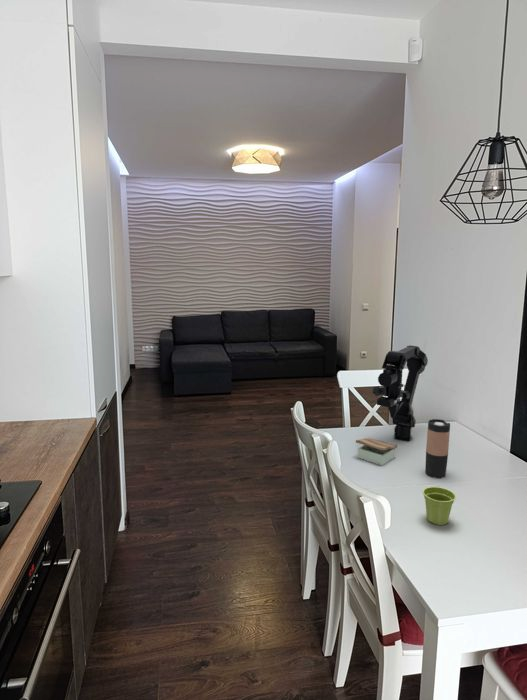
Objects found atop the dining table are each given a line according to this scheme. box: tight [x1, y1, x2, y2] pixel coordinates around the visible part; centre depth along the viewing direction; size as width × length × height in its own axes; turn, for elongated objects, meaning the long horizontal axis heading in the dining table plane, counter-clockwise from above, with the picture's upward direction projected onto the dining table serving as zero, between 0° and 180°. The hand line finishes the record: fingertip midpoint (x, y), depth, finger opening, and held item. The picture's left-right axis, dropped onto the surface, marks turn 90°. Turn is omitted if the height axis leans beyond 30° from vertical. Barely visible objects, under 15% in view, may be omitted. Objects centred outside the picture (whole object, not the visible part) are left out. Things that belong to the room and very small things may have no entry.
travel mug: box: [424, 418, 451, 479], centre depth 172 cm, size 8×8×20 cm
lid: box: [355, 437, 398, 450], centre depth 187 cm, size 12×12×1 cm
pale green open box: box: [357, 444, 396, 466], centre depth 188 cm, size 10×11×4 cm
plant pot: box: [422, 486, 457, 526], centre depth 143 cm, size 9×9×9 cm
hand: (392, 417), depth 197 cm, fingers closed
